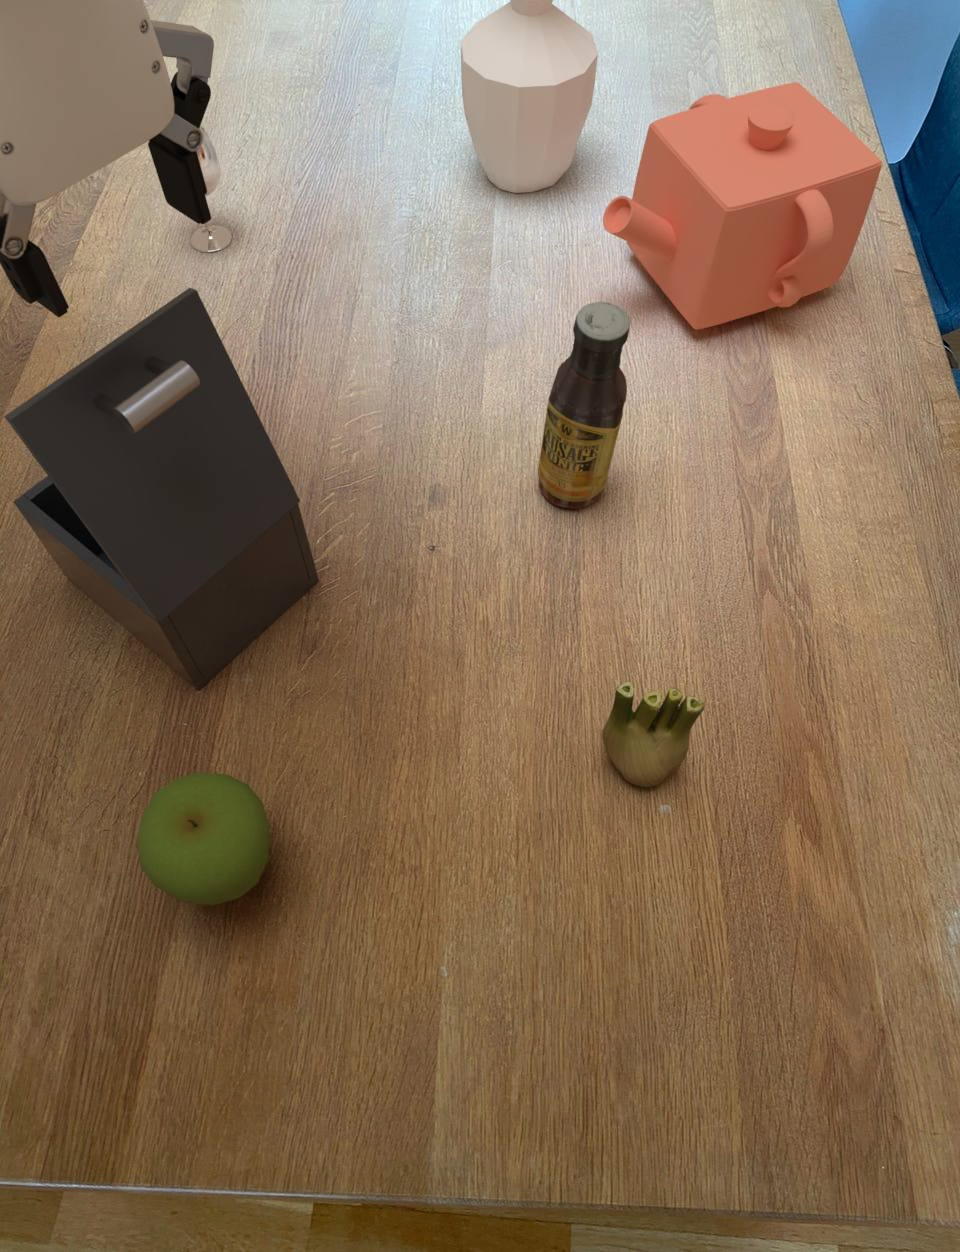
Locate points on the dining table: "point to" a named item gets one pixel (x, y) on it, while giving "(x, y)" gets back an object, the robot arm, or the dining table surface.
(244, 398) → the lid
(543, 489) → the sauce bottle
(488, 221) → the dining table surface
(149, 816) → the apple
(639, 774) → the fennel bulb
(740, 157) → the teapot
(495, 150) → the vase
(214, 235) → the wineglass
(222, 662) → the chest
